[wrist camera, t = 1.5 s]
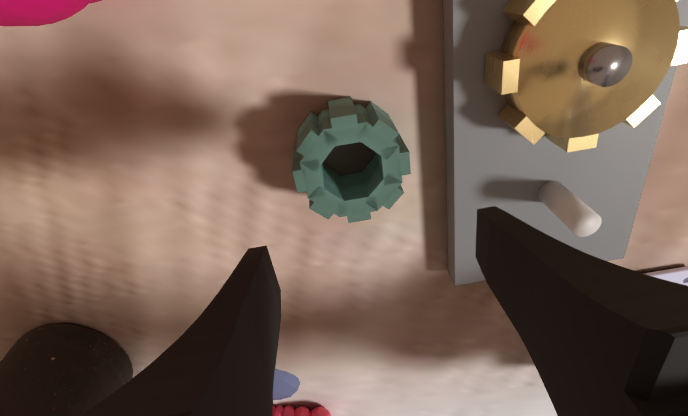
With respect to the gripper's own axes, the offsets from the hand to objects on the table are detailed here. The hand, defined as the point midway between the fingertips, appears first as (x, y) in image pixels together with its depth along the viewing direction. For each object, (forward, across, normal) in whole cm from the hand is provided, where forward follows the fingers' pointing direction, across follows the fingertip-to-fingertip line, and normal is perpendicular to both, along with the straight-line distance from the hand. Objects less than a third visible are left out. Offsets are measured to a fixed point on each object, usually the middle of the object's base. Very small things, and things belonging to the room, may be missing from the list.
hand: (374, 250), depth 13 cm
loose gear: (+10, 0, 0) cm, 10 cm away
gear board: (+10, -11, +1) cm, 15 cm away
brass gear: (+8, -11, -3) cm, 14 cm away
